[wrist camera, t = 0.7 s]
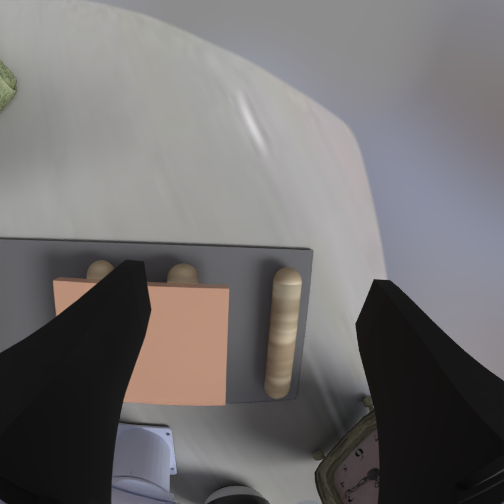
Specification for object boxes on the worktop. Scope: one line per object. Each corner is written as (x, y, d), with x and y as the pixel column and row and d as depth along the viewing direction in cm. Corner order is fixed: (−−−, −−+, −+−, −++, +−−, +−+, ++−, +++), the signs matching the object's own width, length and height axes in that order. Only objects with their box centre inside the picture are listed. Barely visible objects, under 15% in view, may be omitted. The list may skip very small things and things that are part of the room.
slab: (223, 397, 29) (225, 405, 27) (75, 387, 26) (70, 394, 24) (227, 284, 27) (229, 288, 26) (59, 276, 24) (53, 280, 23)
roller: (284, 389, 33) (291, 402, 30) (261, 390, 32) (266, 404, 30) (297, 265, 31) (307, 270, 28) (271, 264, 31) (278, 269, 28)
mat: (294, 397, 34) (295, 398, 33) (-5, 373, 27) (-6, 374, 26) (311, 249, 32) (313, 250, 31) (-26, 238, 24) (-28, 238, 24)
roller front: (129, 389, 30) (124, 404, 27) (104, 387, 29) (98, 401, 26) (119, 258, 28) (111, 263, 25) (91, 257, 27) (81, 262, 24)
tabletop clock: (366, 383, 36) (489, 503, 11) (400, 402, 38) (507, 498, 13) (299, 457, 36) (369, 592, 11) (339, 467, 38) (411, 578, 13)
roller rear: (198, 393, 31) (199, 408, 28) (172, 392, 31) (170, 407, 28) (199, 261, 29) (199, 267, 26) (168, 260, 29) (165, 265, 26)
